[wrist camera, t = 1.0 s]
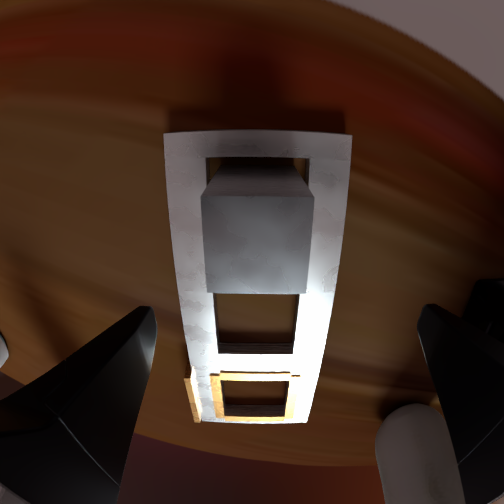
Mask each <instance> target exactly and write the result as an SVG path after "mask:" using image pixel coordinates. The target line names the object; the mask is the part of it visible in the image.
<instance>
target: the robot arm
mask: <svg viewBox="0 0 504 504" xmlns="http://www.w3.org/2000/svg"><path fill="white" fill-rule="evenodd" d="M417 331H418V335H419V338H420V342H421V345H422V349H423V353H424V356H425V360H426V364H427V367H428V370H429V372H430V375H431V378H432V381H433V384H434V387H435V389H436V392H437V395H438V398H439V401H440V404H441V408H442V411H443V414H444V417H445V421H446V424H447V427H448V431H449V434H450V438H451V441H452V445H453V449H454V453H455V457H456V461H457V464H458V470H459V474H460V479H461V484H462V488H463V494H464V499H465V504H491V503H493V502H495V501H497V500H498V499H500V498H502V497H503V496H504V279H487V280H479V281H477V282H476V284H475V287H474V290H473V293H472V295H471V298H470V301H469V303H468V306H467V308H466V311H465V313H464V315H463V318H462V319H461V318H459V317H458V316H456V315H454V314H452V313H451V312H449V311H447V310H445V309H444V308H442V307H440V306H438V305H437V304H426V305H424V307H423V309H422V312H421V314H420V317H419V320H418V323H417ZM156 337H157V324H156V319H155V314H154V310H153V308H152V307H151V306H139V307H137V308H136V309H135V310H133V311H132V312H130V313H129V314H127V315H126V316H125V317H123V318H122V319H120V320H119V321H118V322H116V323H115V324H113V325H112V326H111V327H109V328H108V329H106V330H105V331H104V332H102V333H101V334H99V335H98V336H97V337H95V338H94V339H92V340H91V341H90V342H88V343H87V344H85V345H84V346H83V347H81V348H80V349H79V350H77V351H76V352H74V353H73V354H72V355H70V356H69V357H68V358H66V360H63V361H62V362H61V363H59V364H58V365H56V366H55V367H54V368H52V369H51V370H49V371H48V372H46V373H45V374H43V375H42V376H40V377H39V378H37V379H36V380H34V381H32V382H31V383H29V384H27V385H26V386H24V387H23V388H21V389H19V390H17V391H16V392H14V393H13V394H11V395H9V396H8V397H6V398H4V399H2V400H0V504H117V499H118V494H119V490H120V484H121V480H122V476H123V472H124V467H125V463H126V459H127V455H128V451H129V447H130V443H131V440H132V436H133V432H134V428H135V424H136V421H137V417H138V413H139V410H140V406H141V403H142V399H143V396H144V392H145V389H146V385H147V382H148V379H149V375H150V370H151V365H152V359H153V354H154V348H155V343H156Z"/></svg>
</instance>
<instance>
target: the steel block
mask: <svg viewBox="0 0 504 504" xmlns="http://www.w3.org/2000/svg"><path fill="white" fill-rule="evenodd" d="M200 199H201V217H202V234H203V248H204V262H205V275H206V287H207V293H240V294H306V289H307V279H308V270H309V260H310V249H311V238H312V226H313V214H314V200H315V197H314V196H313V194H312V193H311V191H310V189H309V188H308V186H307V185H306V183H305V182H304V180H303V178H302V177H301V175H300V174H299V172H298V171H297V169H296V168H295V166H282V165H221V166H220V167H219V169H218V170H217V172H216V173H215V175H214V176H213V178H212V179H211V181H210V182H209V184H208V185H207V187H206V189H205V190H204V192H203V193H202V195H201V196H200Z"/></svg>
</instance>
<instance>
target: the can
mask: <svg viewBox="0 0 504 504" xmlns="http://www.w3.org/2000/svg"><path fill="white" fill-rule="evenodd" d="M7 358H8V350H7V347H6V343H5V341H4V339H3V338H2V336H1V335H0V368H1V366H2V365H3V364H4V362H5V361H6V359H7Z"/></svg>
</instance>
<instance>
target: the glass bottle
mask: <svg viewBox="0 0 504 504" xmlns="http://www.w3.org/2000/svg"><path fill="white" fill-rule="evenodd" d="M375 451H376V458H377V463H378V468H379V471H380V476H381V481H382V486H383V491H384V498H385V503H386V504H465V499H464V494H463V488H462V484H461V479H460V474H459V470H458V464H457V461H456V457H455V453H454V449H453V445H452V441H451V438H450V434H449V431H448V427H447V424H446V422H445V420H444V418H443V417H442V416H441V414H440V413H439V412H438V411H436V410H435V409H434V408H432V407H430V406H427V405H424V404H418V403H414V404H409V405H405V406H402V407H400V408H398V409H396V410H395V411H393V412H392V413H391V414H389V415H388V416H387V417H386V418H385V420H384V421H383V423H382V424H381V426H380V428H379V430H378V432H377V435H376V440H375Z"/></svg>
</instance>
